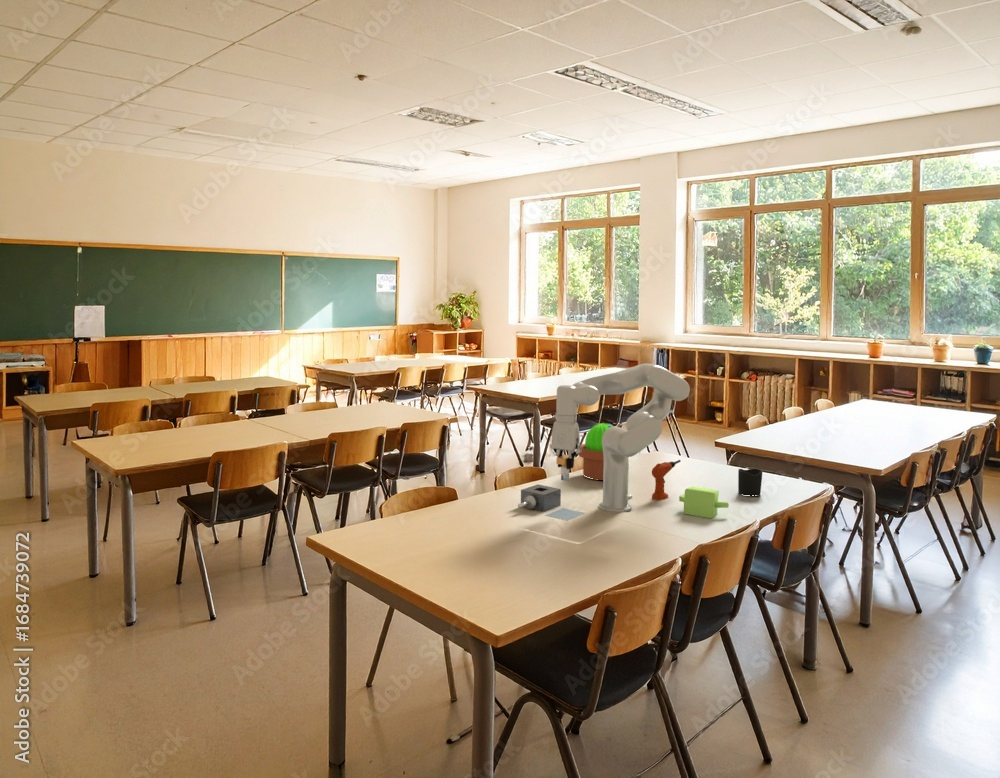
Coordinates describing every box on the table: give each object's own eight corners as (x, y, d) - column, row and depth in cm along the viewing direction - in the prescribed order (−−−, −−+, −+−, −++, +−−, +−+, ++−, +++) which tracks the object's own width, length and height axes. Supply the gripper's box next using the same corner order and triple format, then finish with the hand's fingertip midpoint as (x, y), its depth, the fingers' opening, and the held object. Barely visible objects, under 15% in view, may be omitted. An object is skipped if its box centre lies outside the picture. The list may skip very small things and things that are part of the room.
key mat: (563, 509, 283) (563, 508, 283) (585, 514, 277) (585, 513, 276) (544, 516, 274) (544, 515, 274) (567, 521, 267) (567, 520, 267)
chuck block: (537, 501, 294) (537, 484, 293) (560, 506, 287) (560, 488, 286) (507, 512, 279) (507, 494, 278) (531, 517, 272) (531, 499, 271)
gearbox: (730, 515, 278) (732, 490, 277) (723, 521, 270) (725, 495, 269) (683, 507, 287) (685, 483, 286) (675, 512, 279) (677, 487, 278)
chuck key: (565, 477, 279) (566, 454, 278) (573, 478, 277) (574, 455, 276) (556, 480, 274) (556, 457, 273) (564, 482, 272) (564, 458, 271)
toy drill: (686, 489, 307) (684, 454, 304) (659, 503, 295) (657, 467, 292) (676, 486, 311) (674, 452, 308) (649, 500, 299) (647, 465, 296)
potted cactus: (570, 479, 330) (571, 423, 326) (588, 468, 349) (589, 416, 346) (617, 485, 319) (619, 428, 316) (633, 474, 339) (635, 420, 335)
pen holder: (756, 498, 299) (758, 474, 298) (734, 494, 305) (735, 471, 304) (764, 493, 307) (765, 470, 306) (741, 489, 312) (742, 466, 311)
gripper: (542, 417, 275) (541, 465, 278) (579, 422, 265) (578, 472, 267) (553, 415, 281) (553, 462, 283) (590, 420, 271) (589, 469, 273)
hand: (565, 467), depth 275 cm, fingers closed on chuck key, 3 cm apart
